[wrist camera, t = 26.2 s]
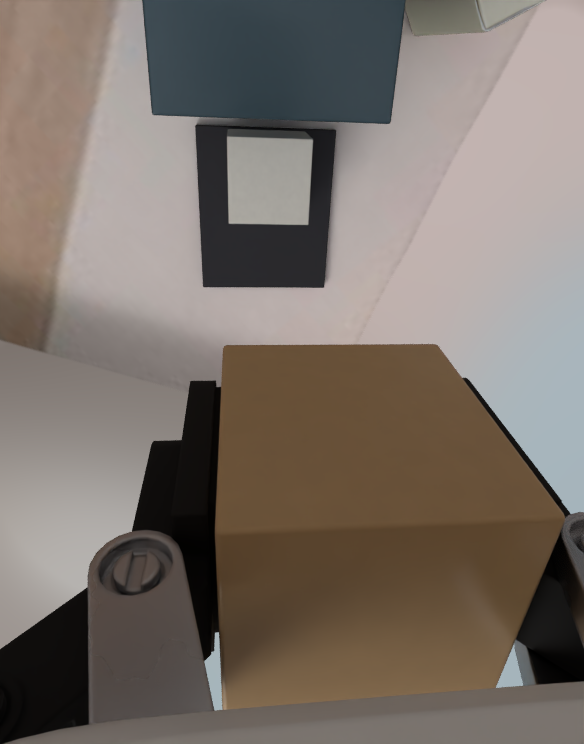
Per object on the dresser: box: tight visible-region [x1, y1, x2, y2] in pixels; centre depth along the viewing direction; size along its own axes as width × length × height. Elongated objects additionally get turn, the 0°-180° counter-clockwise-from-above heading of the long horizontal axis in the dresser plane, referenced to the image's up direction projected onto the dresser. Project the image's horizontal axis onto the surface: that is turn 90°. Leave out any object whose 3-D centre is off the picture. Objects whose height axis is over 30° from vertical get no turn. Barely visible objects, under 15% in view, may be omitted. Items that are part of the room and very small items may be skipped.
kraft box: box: [215, 344, 565, 710], centre depth 10 cm, size 4×4×5 cm
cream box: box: [227, 129, 313, 225], centre depth 36 cm, size 6×6×4 cm
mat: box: [195, 125, 336, 288], centre depth 40 cm, size 12×10×1 cm
